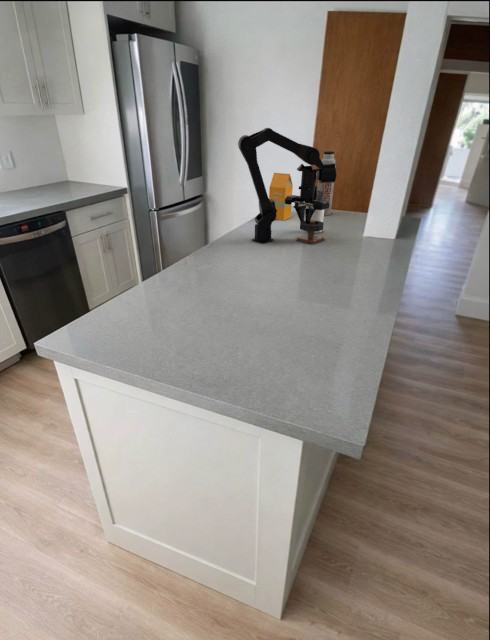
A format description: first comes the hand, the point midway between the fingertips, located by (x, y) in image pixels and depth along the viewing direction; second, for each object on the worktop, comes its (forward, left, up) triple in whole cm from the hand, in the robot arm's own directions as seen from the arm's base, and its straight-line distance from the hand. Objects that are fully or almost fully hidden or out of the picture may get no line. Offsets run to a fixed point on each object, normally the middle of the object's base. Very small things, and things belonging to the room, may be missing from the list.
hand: (304, 224), depth 176 cm
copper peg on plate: (+4, 0, -6) cm, 7 cm away
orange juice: (-32, +22, -6) cm, 40 cm away
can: (-4, +13, -6) cm, 15 cm away
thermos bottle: (-22, +44, -6) cm, 50 cm away
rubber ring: (+4, 0, -1) cm, 4 cm away
